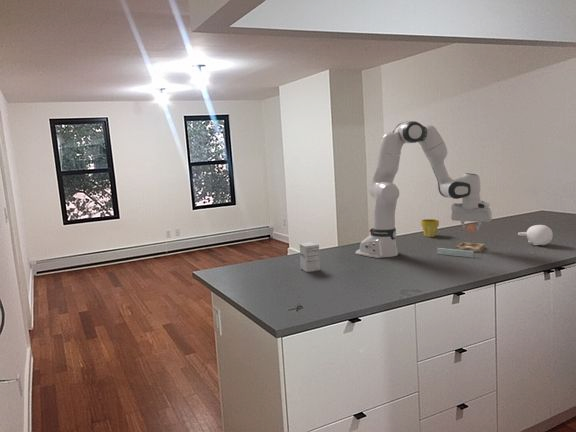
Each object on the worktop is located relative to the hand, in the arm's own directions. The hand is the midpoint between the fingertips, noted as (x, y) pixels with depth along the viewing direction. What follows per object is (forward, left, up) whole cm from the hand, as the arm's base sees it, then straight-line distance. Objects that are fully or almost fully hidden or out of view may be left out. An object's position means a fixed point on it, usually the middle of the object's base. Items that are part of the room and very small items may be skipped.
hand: (471, 229), depth 255 cm
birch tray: (0, 0, -11) cm, 11 cm away
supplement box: (-55, -73, -11) cm, 92 cm away
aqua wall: (-3, -17, -11) cm, 21 cm away
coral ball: (0, 0, +1) cm, 1 cm away
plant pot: (-31, +25, -11) cm, 41 cm away
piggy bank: (+28, +26, -11) cm, 39 cm away
